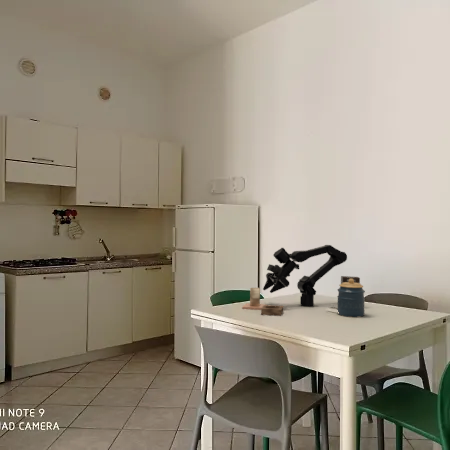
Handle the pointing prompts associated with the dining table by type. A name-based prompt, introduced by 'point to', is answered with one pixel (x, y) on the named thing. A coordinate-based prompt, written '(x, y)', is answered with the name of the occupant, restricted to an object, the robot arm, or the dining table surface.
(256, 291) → the birch peg
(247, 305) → the terracotta tile
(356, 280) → the coffee box
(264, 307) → the walnut pocket block
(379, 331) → the dining table surface
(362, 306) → the canister
